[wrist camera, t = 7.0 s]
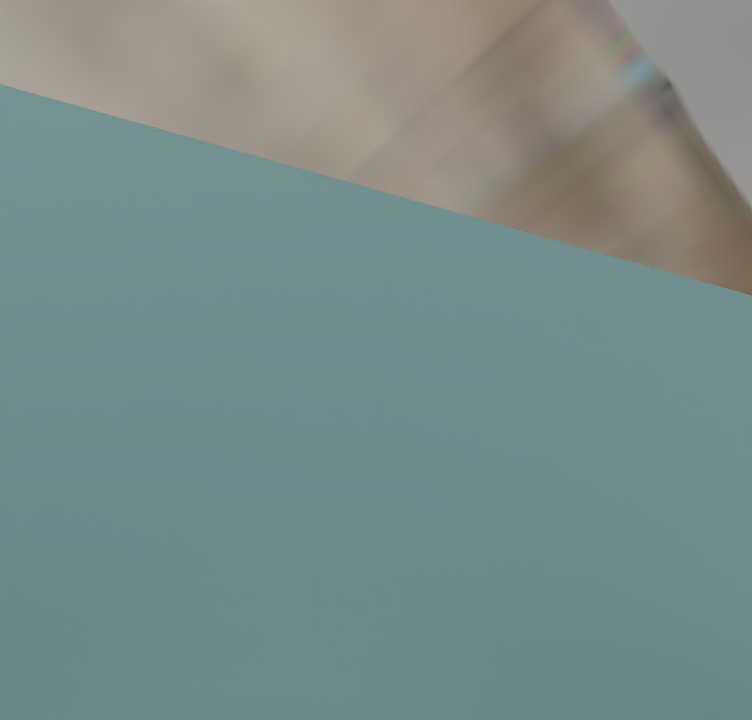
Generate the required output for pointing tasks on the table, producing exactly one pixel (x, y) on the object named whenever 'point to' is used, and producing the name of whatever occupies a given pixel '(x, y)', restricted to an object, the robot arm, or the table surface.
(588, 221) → the table surface
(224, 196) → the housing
